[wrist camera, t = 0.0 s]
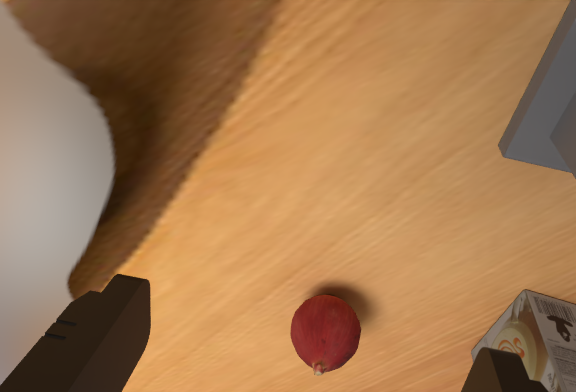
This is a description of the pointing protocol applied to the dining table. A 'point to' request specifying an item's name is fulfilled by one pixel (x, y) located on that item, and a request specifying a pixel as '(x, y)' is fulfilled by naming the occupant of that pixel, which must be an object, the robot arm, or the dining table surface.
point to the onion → (325, 333)
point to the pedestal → (548, 106)
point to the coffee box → (538, 339)
